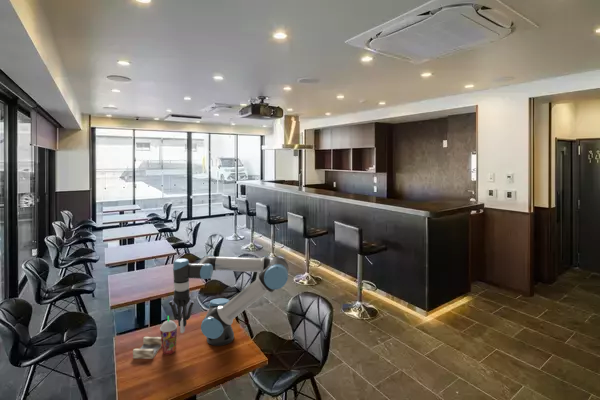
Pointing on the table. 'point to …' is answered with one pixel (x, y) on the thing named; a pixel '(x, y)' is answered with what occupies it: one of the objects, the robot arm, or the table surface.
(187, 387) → the table surface
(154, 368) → the table surface
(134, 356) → the rest
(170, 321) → the smoothie
